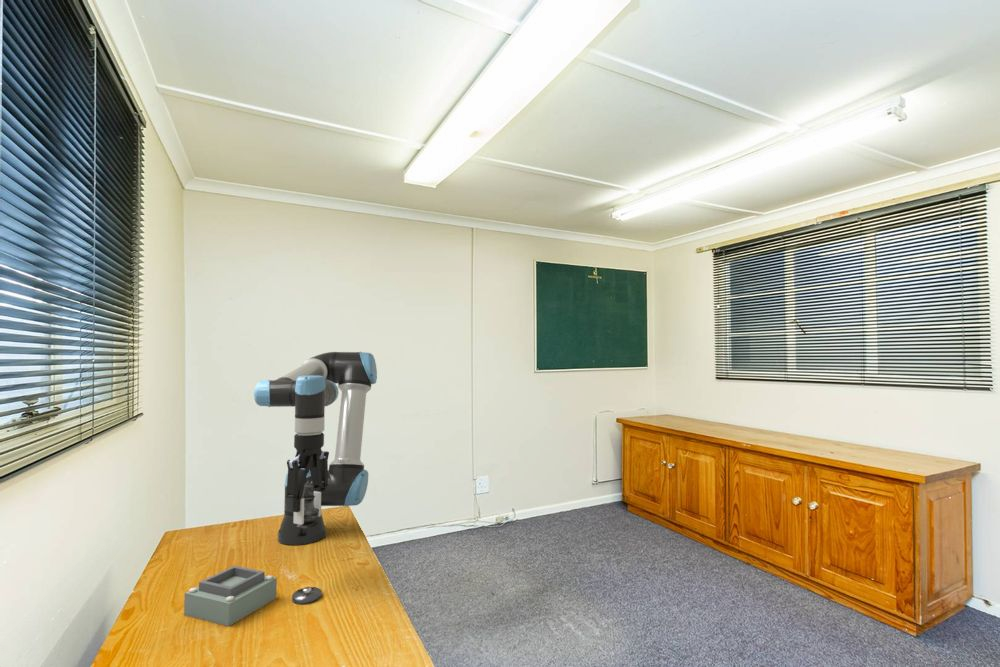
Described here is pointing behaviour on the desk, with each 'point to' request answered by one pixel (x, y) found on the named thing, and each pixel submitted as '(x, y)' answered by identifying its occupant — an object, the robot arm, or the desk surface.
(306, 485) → the dark metal chess piece
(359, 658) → the desk surface
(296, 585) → the desk surface
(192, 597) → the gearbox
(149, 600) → the desk surface
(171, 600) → the desk surface
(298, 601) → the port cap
